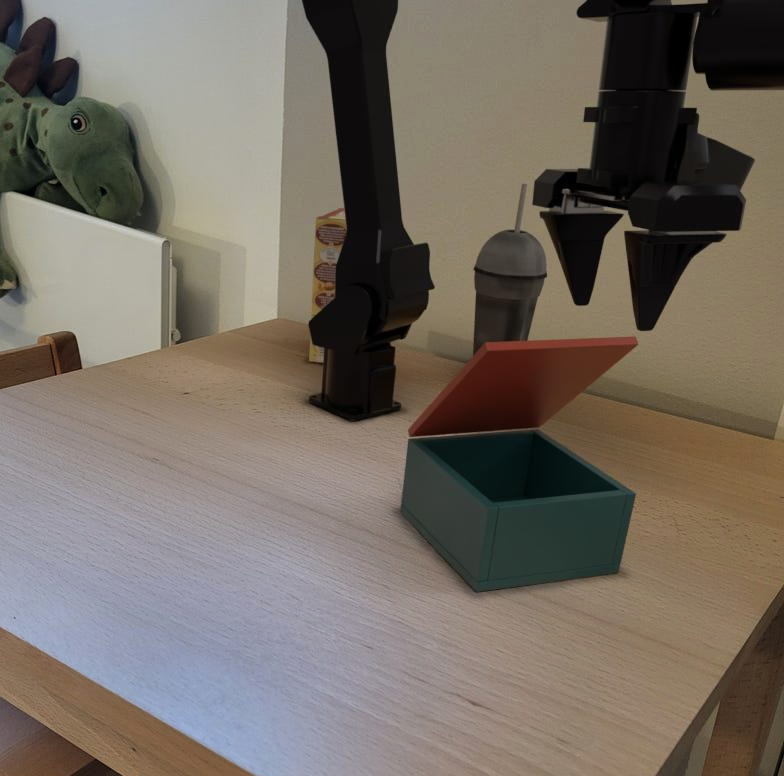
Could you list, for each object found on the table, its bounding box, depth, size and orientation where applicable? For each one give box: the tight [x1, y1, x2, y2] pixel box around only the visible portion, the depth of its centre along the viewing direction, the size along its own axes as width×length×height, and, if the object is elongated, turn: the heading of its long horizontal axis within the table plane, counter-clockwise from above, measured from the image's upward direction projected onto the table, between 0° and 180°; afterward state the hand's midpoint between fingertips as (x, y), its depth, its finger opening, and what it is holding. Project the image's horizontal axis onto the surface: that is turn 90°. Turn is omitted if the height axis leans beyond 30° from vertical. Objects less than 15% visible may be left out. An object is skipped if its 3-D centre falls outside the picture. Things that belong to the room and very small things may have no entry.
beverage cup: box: [472, 183, 548, 357], centre depth 92 cm, size 7×7×20 cm
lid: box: [407, 336, 639, 438], centre depth 59 cm, size 12×10×1 cm
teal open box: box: [399, 428, 637, 593], centre depth 61 cm, size 11×10×6 cm
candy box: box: [308, 207, 346, 364], centre depth 99 cm, size 9×4×15 cm, turn 162°
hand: (611, 317), depth 69 cm, fingers open, 9 cm apart
